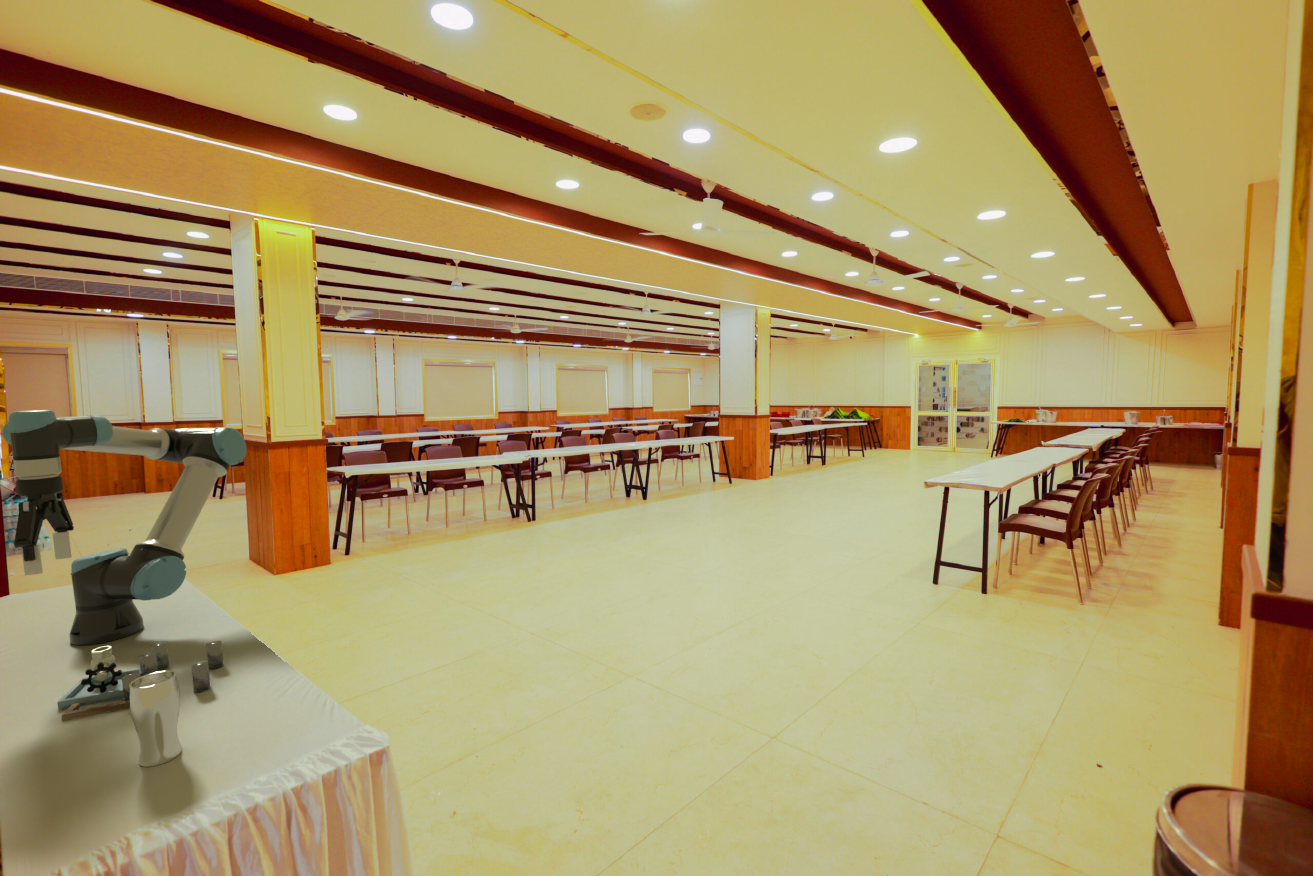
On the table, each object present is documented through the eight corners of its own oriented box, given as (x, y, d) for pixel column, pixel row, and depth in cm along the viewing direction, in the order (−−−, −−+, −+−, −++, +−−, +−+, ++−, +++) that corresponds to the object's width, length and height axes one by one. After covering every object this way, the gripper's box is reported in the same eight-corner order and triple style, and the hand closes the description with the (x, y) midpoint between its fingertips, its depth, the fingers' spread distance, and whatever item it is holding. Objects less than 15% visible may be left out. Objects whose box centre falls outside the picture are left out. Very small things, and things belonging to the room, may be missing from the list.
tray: (83, 685, 137) (82, 677, 137) (146, 674, 142) (146, 667, 142) (58, 710, 127) (57, 702, 127) (127, 697, 132) (126, 689, 131)
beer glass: (155, 746, 113) (147, 671, 112) (193, 744, 114) (186, 668, 112) (125, 770, 106) (117, 690, 105) (167, 767, 107) (159, 687, 105)
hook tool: (72, 709, 127) (72, 704, 127) (155, 694, 133) (154, 689, 132) (62, 720, 123) (61, 715, 123) (147, 704, 128) (147, 699, 128)
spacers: (153, 667, 146) (150, 643, 145) (229, 654, 152) (227, 631, 151) (120, 707, 127) (117, 680, 127) (208, 690, 134) (205, 665, 133)
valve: (85, 678, 137) (82, 698, 128) (82, 650, 136) (79, 668, 127) (123, 668, 141) (123, 687, 132) (120, 641, 141) (120, 658, 132)
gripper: (45, 471, 148) (55, 554, 150) (-17, 486, 125) (-4, 584, 127) (84, 468, 151) (93, 550, 153) (31, 483, 128) (42, 578, 130)
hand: (49, 566), depth 140 cm, fingers open, 13 cm apart
